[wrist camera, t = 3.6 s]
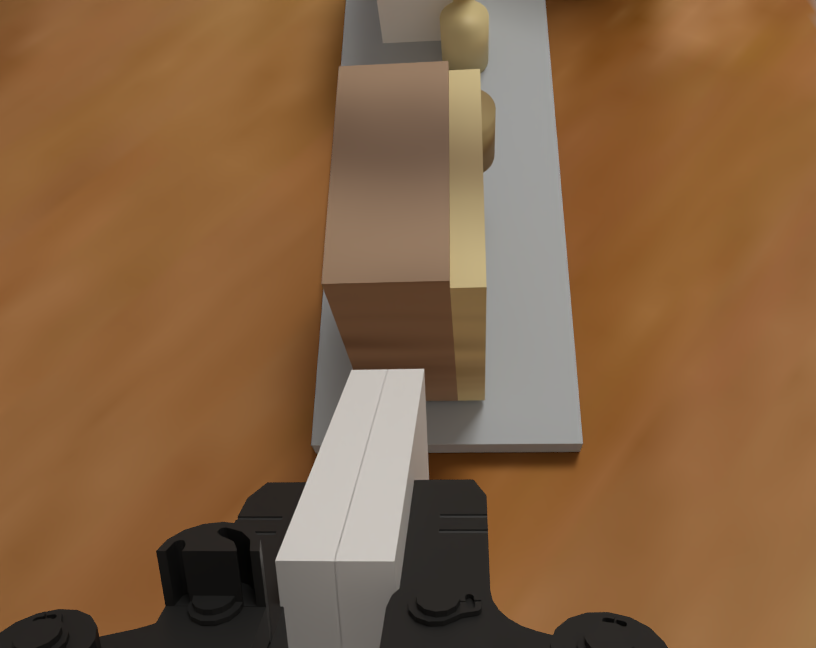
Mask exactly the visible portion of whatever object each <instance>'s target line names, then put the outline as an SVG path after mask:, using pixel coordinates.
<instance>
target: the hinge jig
mask: <svg viewBox="0 0 816 648" xmlns="http://www.w3.org/2000/svg"><path fill="white" fill-rule="evenodd" d="M437 61H448V63H449V70H466V69H480V81H481V90H483V91H484V92H486V93H487V94H489V95H490V96H491V97H492V99H493V101H494V103H495V107H496V117H495V155H494V161H493V163H492V165H491V166H490V167H489V169H488V170H486V171H485V172H484V173H483V182H484V216H485V250H486V284H487V294H486V361H485V400H467V401H426V420H427V444H428V453H461V452H580V450H581V447H582V444H583V440H582V428H581V416H580V404H579V392H578V381H577V369H576V357H575V345H574V333H573V322H572V310H571V298H570V286H569V274H568V263H567V251H566V239H565V227H564V215H563V204H562V192H561V180H560V168H559V156H558V145H557V133H556V121H555V109H554V97H553V86H552V74H551V62H550V50H549V38H548V27H547V15H546V3H545V0H346V8H345V21H344V34H343V46H342V59H341V66H354V65H374V64H395V63H416V62H437ZM351 370H353V368H352V365H351V362H350V360H349V357H348V354H347V351H346V349H345V346H344V343H343V341H342V338H341V335H340V333H339V330H338V327H337V324H336V322H335V319H334V316H333V314H332V311H331V308H330V306H329V303H328V300H327V297H326V295H325V292H324V289H323V301H322V314H321V327H320V339H319V352H318V365H317V378H316V390H315V403H314V416H313V429H312V441H311V446H312V447H313V449H314V451H315V452H316V453H318V452H319V450H320V447H321V445H322V442H323V440H324V437H325V435H326V432H327V430H328V427H329V425H330V422H331V420H332V417H333V415H334V412H335V410H336V407H337V405H338V402H339V400H340V397H341V395H342V392H343V390H344V387H345V385H346V382H347V380H348V377H349V375H350V372H351Z"/></svg>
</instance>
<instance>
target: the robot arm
mask: <svg viewBox="0 0 816 648" xmlns="http://www.w3.org/2000/svg"><path fill="white" fill-rule="evenodd" d="M156 552H157V558H158V564H159V570H160V576H161V582H162V588H163V593H164V599H165V605H166V606H165V608H164V610H163V612H162V613H161V615H160V617H159V619H158V621H157V622H156V623H155V624H152V625H149V626H145V627H142V628H138V629H134V630H129V631H124V632H120V633H115V634H110V635H105V636H101V637H99V633H98V628H97V625H96V624H95V622H94V620H93V619H92V617H91V616H90V615H88V614H85V613H83V612H81V611H78V610H64V609H57V610H53V611H48V612H42V613H38V614H35V615H33V616H30V617H28V618H25V619H23V620H20V621H18V622H16V623H14V624H13V625H11V626H10V627H8V628H7V629H5V630H4V631H2V632H1V633H0V648H668V647H667V646H666V644H665V643H664V641H663V640H662V639H661V638H660V637H659V636H658V635H657V634H656V633H655V632H654V631H653V630H652V629H651V628H650V627H648V626H646V625H644V624H642V623H640V622H638V621H636V620H634V619H632V618H630V617H626V616H622V615H618V614H614V613H609V612H596V613H584V614H581V615H578V616H575V617H571V618H568V619H567V620H566V621H565V622H564V623H562V624H561V625H560V626H559V627H557V628H556V629H555V632H554V634H553V635H550V634H546V633H542V632H538V631H535V630H532V629H529V628H526V627H523V626H521V625H519V624H517V623H515V622H514V621H512V620H510V619H508V618H507V617H506V616H505V615H504V614H503V613H502V612H501V611H499V610H498V608H497V606H496V605H495V603H494V602H493V600H492V596H491V592H490V575H489V550H488V525H487V499H486V495H485V493H484V492H483V491H482V490H481V488H480V487H479V486H478V485H477V484H476V482H475V481H474V480H429V467H428V444H427V420H426V397H425V374H424V369H381V370H351V372H350V375H349V377H348V380H347V382H346V385H345V387H344V390H343V392H342V395H341V397H340V400H339V402H338V405H337V407H336V410H335V412H334V415H333V417H332V420H331V422H330V425H329V427H328V430H327V432H326V435H325V437H324V440H323V442H322V445H321V447H320V450H319V452H318V455H317V457H316V460H315V462H314V465H313V467H312V470H311V472H310V475H309V477H308V480H307V482H294V483H266V484H265V485H264V486H263V487H261V488H260V489H259V490H257V491H256V492H255V493H254V494H252V495H251V496H250V497H248V498H247V500H246V502H245V504H244V506H243V508H242V510H241V512H240V513H239V515H238V520H236V521H235V523H228V522H218V523H209V524H202V525H199V526H196V527H193V528H189V529H186V530H184V531H182V532H180V533H178V534H176V535H175V536H173V537H171V538H169V539H168V540H167V541H166V542H165V543H164V544H163V545H162V546H161V547H160V548H159V549H158V550H157V551H156Z"/></svg>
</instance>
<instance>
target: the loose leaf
mask: <svg viewBox="0 0 816 648" xmlns="http://www.w3.org/2000/svg"><path fill="white" fill-rule="evenodd" d="M495 117H496V107H495V103H494V101H493V99H492V97H491V96H490V95H489V94H487V93H486V92H484V91H483V90H481V81H480V69H466V70H449V63H448V61H437V62H416V63H395V64H374V65H354V66H339V72H338V84H337V97H336V109H335V121H334V134H333V146H332V159H331V171H330V184H329V196H328V209H327V221H326V234H325V246H324V259H323V271H322V287H323V289H324V292H325V295H326V297H327V300H328V303H329V306H330V308H331V311H332V314H333V316H334V319H335V322H336V324H337V327H338V330H339V333H340V335H341V338H342V341H343V343H344V346H345V349H346V351H347V354H348V357H349V360H350V362H351V365H352V368H353V370H381V369H424V374H425V397H426V401H467V400H485V361H486V294H487V284H486V250H485V216H484V182H483V173H484V172H485V171H486V170H488V169H489V167H490V166H491V165H492V163H493V161H494V155H495Z"/></svg>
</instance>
